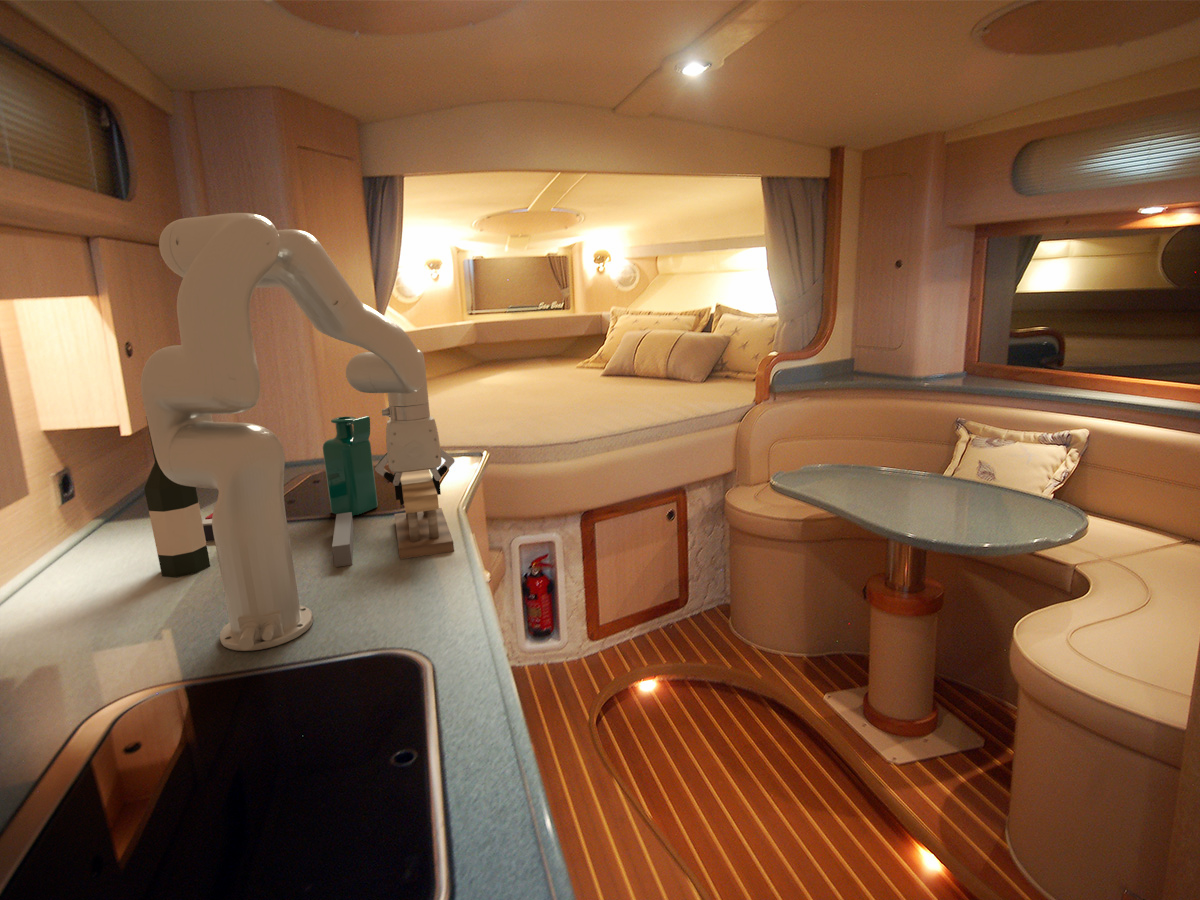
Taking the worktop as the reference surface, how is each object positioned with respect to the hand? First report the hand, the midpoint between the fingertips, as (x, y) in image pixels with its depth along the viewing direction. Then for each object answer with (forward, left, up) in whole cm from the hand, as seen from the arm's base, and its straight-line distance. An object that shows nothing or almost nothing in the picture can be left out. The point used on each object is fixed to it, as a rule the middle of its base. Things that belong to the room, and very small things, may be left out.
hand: (418, 499), depth 137 cm
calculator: (+23, +38, -8) cm, 45 cm away
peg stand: (0, 0, -8) cm, 8 cm away
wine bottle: (+1, +43, -8) cm, 44 cm away
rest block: (0, +15, -8) cm, 17 cm away
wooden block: (0, 0, +1) cm, 1 cm away
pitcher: (+24, +13, -8) cm, 28 cm away
